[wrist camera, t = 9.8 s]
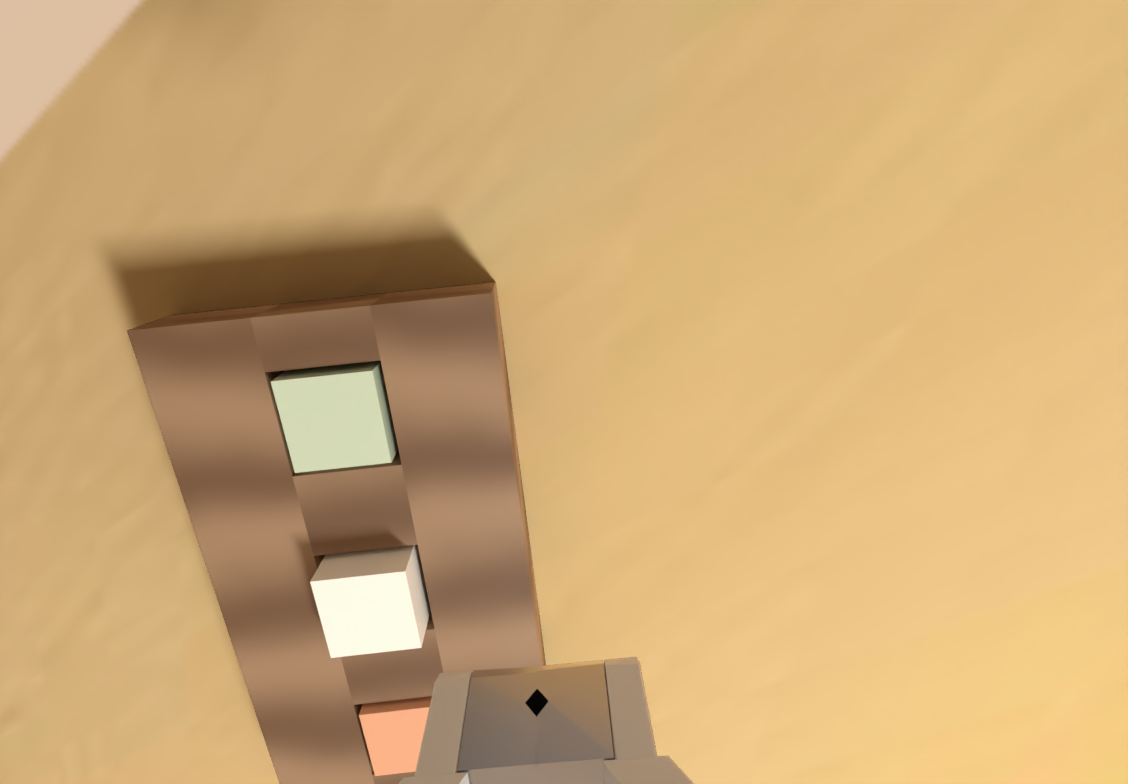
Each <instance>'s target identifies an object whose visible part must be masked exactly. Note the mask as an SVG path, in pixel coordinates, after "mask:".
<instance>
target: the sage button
mask: <svg viewBox="0 0 1128 784" xmlns="http://www.w3.org/2000/svg"><path fill="white" fill-rule="evenodd" d="M271 385H272V389H273V392H274V396H275V400H276V404H277V408H278V411H279V415H280V419H281V423H282V426H283V430H284V434H285V438H286V441H287V445H288V449H289V453H290V457H291V460H292V464H293V468H294V472H295V473H300V472H309V471H319V470H328V469H337V468H347V467H356V466H365V465H375V464H384V463H392V461H393V459H394V457H395V455H396V453H397V451H398V444H397V439H396V434H395V429H394V425H393V420H392V415H391V410H390V405H389V400H388V395H387V390H386V385H385V380H384V375H383V370H382V365H381V360H379V361H370V362H360V363H351V364H341V365H332V366H322V367H312V368H303V369H293V370H286V371H284V372H283V373H281V374H280V375H279V376H277V377H276V378H275V379H273V380H272V381H271Z"/></svg>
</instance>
